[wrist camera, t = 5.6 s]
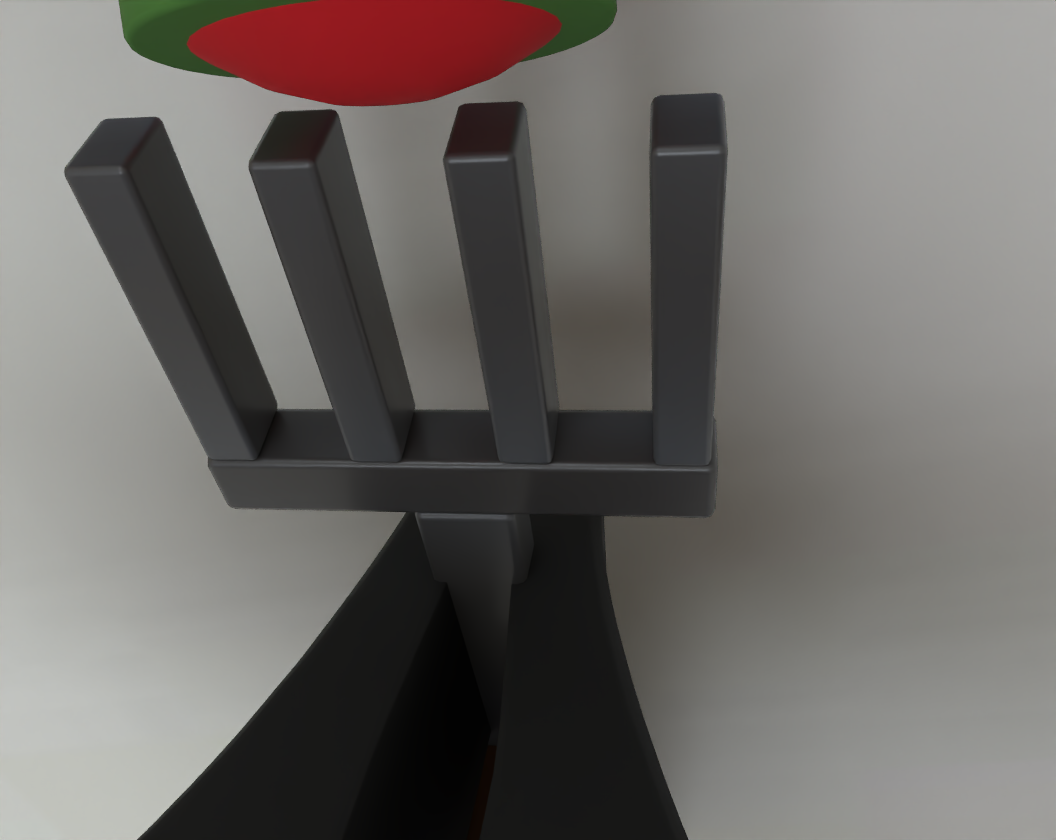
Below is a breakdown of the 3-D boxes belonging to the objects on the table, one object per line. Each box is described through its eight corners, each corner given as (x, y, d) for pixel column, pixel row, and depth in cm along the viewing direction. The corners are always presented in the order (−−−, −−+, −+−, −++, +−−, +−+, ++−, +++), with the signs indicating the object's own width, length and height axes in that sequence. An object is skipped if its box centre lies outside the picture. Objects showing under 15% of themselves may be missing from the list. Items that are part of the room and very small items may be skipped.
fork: (687, 851, 16) (689, 1079, 14) (463, 835, 17) (431, 1053, 14) (726, 8, 6) (756, 364, 4) (154, 40, 7) (-107, 366, 4)
